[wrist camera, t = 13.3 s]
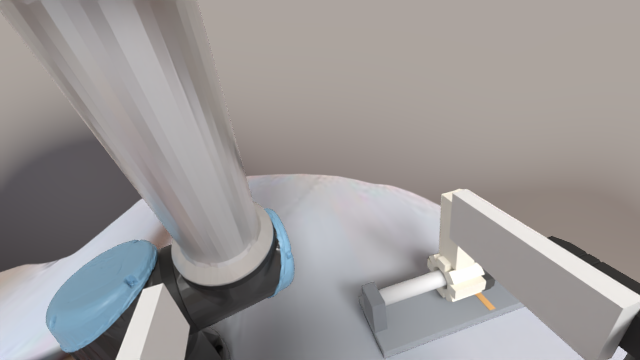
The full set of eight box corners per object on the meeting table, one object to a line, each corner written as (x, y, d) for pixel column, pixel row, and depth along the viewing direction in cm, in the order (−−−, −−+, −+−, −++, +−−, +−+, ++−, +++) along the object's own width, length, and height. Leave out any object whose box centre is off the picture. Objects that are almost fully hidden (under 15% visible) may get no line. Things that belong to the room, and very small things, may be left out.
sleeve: (453, 311, 42) (462, 217, 34) (427, 277, 48) (428, 191, 40) (482, 301, 42) (498, 206, 34) (452, 269, 48) (459, 182, 40)
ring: (482, 301, 42) (488, 267, 39) (452, 269, 48) (455, 238, 45) (492, 297, 43) (498, 264, 39) (460, 266, 49) (463, 235, 45)
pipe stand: (384, 358, 40) (381, 325, 36) (359, 302, 49) (354, 271, 45) (537, 301, 43) (548, 266, 40) (488, 259, 52) (493, 227, 49)
